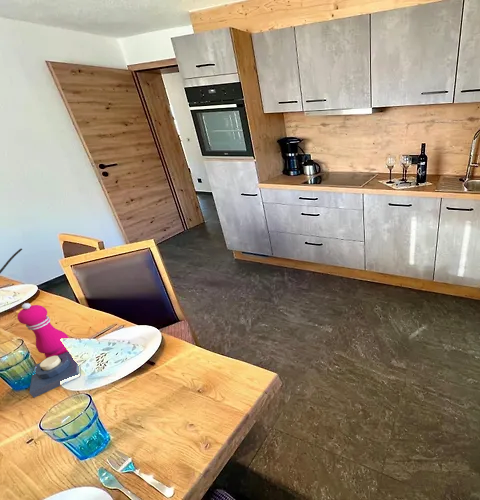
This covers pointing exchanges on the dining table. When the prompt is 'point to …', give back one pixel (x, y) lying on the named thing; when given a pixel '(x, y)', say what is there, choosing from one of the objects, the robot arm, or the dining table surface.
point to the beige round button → (50, 363)
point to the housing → (53, 375)
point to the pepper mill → (42, 330)
